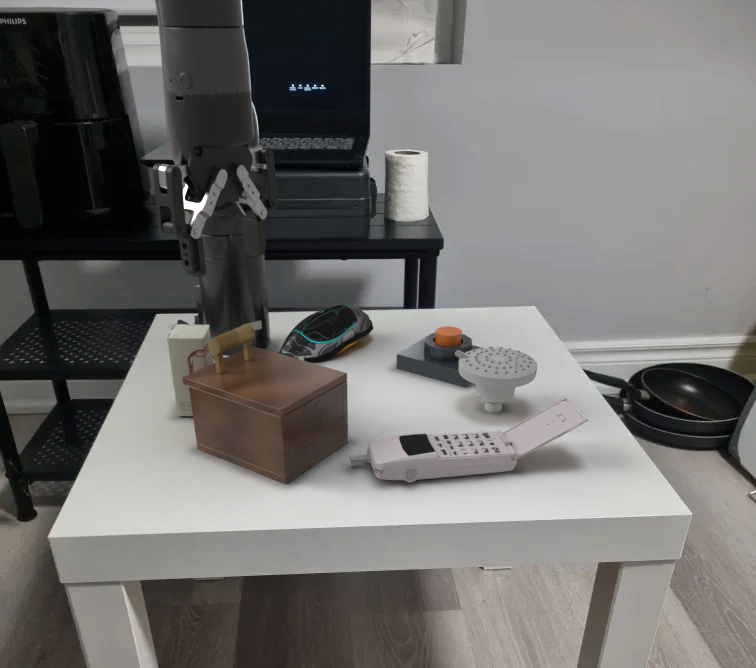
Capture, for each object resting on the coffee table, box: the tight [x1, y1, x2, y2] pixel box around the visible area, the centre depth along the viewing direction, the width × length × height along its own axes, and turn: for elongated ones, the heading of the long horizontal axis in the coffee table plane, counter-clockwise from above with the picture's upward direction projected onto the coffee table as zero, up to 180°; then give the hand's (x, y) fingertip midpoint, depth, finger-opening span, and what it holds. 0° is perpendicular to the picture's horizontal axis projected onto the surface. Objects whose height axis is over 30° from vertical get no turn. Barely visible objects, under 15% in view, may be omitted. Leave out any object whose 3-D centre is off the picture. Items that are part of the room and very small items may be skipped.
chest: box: [189, 379, 349, 485], centre depth 83 cm, size 13×11×8 cm
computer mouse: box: [277, 304, 374, 363], centre depth 108 cm, size 9×17×6 cm, turn 130°
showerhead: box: [455, 346, 538, 413], centre depth 92 cm, size 9×7×10 cm
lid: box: [182, 324, 348, 417], centre depth 80 cm, size 14×11×5 cm
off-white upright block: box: [166, 323, 214, 417], centre depth 90 cm, size 5×4×10 cm
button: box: [434, 325, 463, 346], centre depth 102 cm, size 4×4×2 cm
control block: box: [395, 332, 482, 389], centre depth 103 cm, size 11×9×4 cm
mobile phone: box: [349, 397, 589, 484], centre depth 80 cm, size 6×6×25 cm
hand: (226, 265), depth 77 cm, fingers open, 8 cm apart
